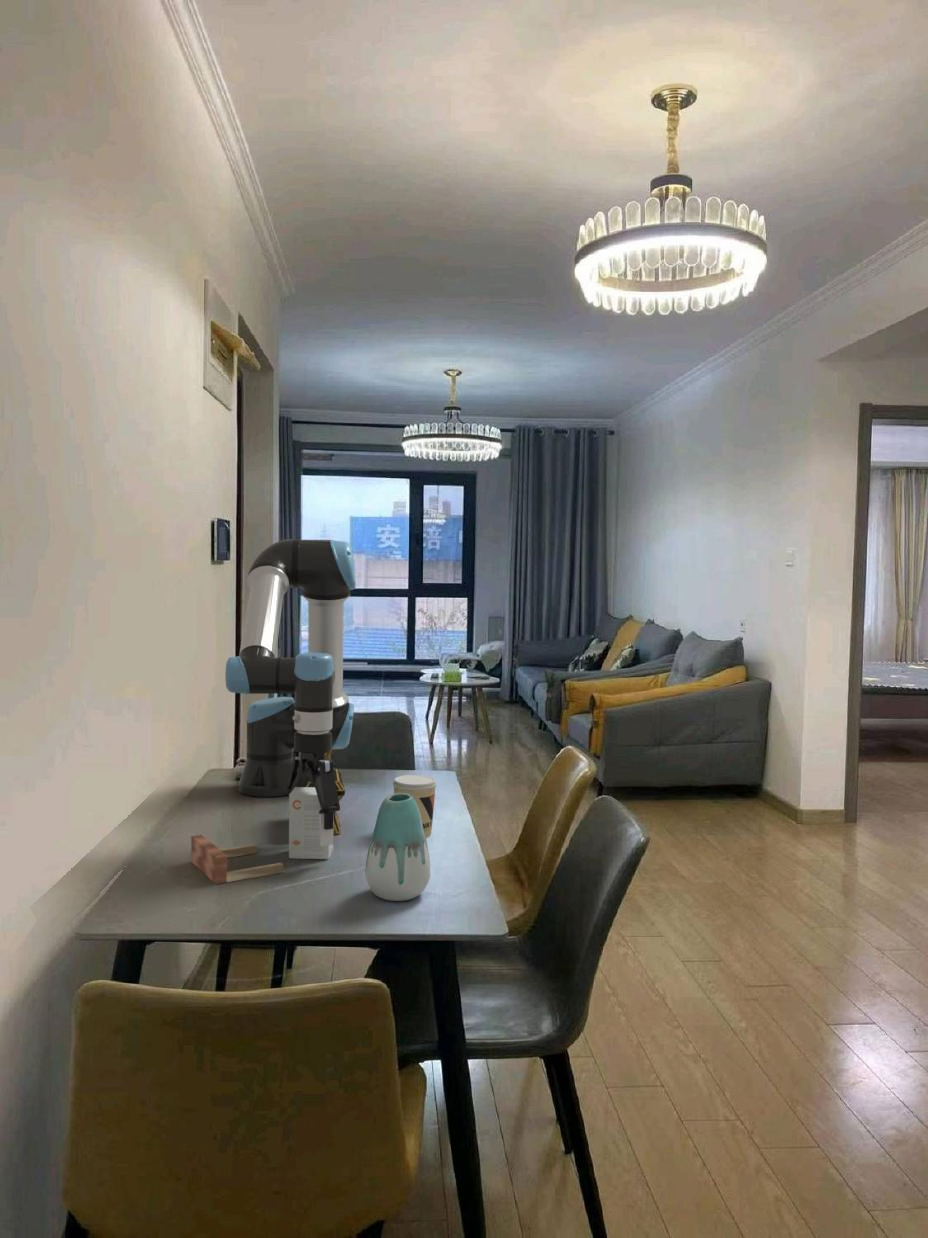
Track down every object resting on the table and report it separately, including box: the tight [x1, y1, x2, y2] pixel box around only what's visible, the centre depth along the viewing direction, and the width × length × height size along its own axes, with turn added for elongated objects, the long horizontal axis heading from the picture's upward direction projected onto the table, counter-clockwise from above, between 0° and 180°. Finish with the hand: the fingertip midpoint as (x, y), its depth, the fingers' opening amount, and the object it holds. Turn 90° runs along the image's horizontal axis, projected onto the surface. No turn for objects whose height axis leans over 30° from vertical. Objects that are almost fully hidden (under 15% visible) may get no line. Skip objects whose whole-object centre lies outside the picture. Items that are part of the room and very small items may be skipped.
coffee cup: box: [392, 774, 437, 839], centre depth 202 cm, size 9×9×12 cm
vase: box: [364, 793, 431, 902], centre depth 165 cm, size 12×12×18 cm
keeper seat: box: [190, 834, 284, 885], centre depth 178 cm, size 14×13×5 cm
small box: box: [288, 787, 334, 860], centre depth 186 cm, size 8×6×13 cm
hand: (311, 835), depth 186 cm, fingers open, 13 cm apart
